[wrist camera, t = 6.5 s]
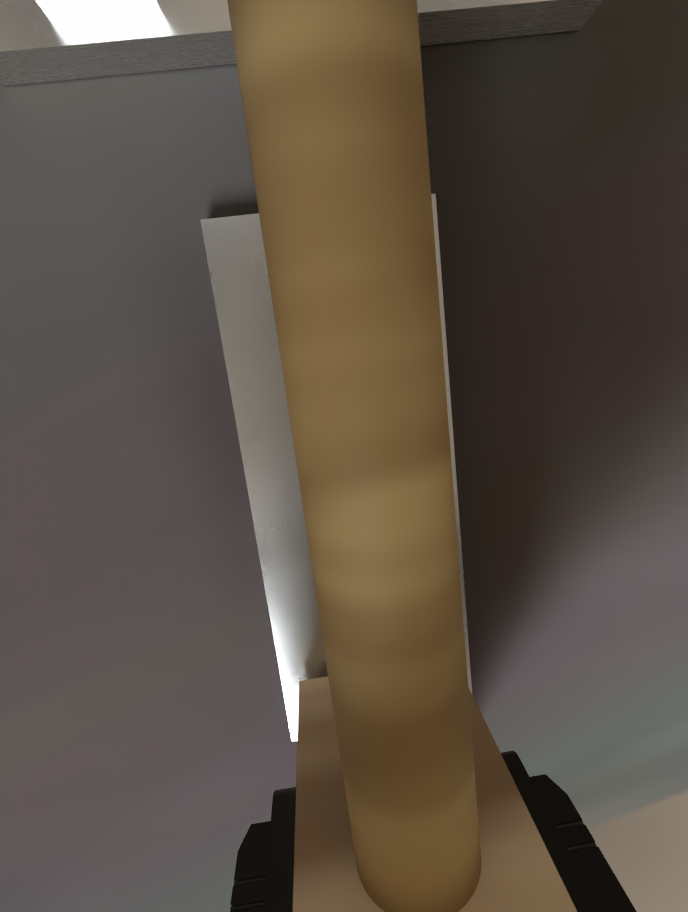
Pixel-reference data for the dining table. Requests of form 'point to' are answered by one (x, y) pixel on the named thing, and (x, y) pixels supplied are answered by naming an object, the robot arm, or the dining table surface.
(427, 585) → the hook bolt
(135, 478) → the dining table surface
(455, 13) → the white stand
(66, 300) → the dining table surface
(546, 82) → the dining table surface
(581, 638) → the dining table surface
